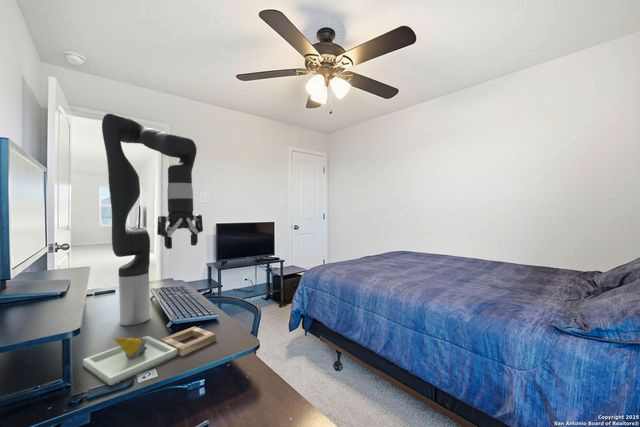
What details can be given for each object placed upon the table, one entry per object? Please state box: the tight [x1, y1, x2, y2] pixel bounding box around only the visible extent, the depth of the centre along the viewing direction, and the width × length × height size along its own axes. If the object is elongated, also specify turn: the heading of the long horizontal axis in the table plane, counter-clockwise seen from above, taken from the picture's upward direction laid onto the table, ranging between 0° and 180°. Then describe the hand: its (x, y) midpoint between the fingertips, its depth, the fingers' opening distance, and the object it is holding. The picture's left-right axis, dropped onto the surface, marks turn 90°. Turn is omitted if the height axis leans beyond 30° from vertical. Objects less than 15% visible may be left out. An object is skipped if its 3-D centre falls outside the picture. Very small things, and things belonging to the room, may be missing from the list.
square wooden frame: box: [159, 326, 217, 357], centre depth 87 cm, size 11×11×2 cm
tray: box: [82, 335, 178, 386], centre depth 77 cm, size 16×16×2 cm
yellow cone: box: [113, 337, 147, 359], centre depth 77 cm, size 5×5×10 cm
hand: (181, 246), depth 95 cm, fingers open, 8 cm apart
